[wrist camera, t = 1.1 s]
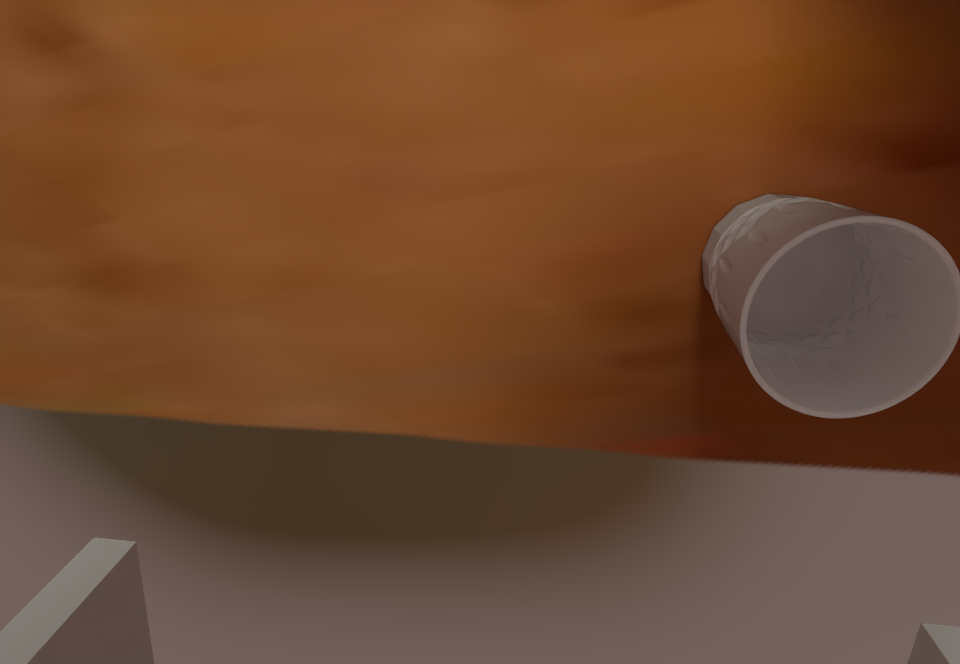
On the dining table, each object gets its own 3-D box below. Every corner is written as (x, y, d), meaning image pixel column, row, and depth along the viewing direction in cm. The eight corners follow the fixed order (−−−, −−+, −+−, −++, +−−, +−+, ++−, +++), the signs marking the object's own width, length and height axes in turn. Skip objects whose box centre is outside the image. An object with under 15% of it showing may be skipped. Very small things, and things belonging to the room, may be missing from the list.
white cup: (714, 354, 37) (771, 444, 28) (668, 216, 35) (714, 263, 25) (867, 303, 35) (984, 381, 26) (829, 155, 33) (942, 181, 24)
